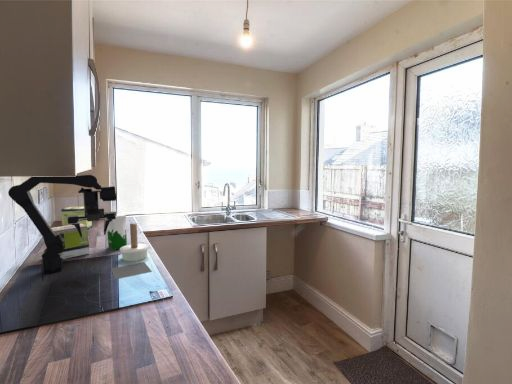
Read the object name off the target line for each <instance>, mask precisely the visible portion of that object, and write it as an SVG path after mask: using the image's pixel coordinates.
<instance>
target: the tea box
mask: <svg viewBox="0 0 512 384" xmlns="http://www.w3.org/2000/svg"><path fill="white" fill-rule="evenodd" d="M51 229H52V230H53V231H54V232H55V233H56V234H58V233H59V232H60V233H61V236H62V237H63V238H64V239H65V241H64V242H65V245H64V249H63V251H62V252H60V253H59V254H60V258H61V257H62V260H65V259H70V258H75V257H80V256H85V255H88V254H89V255H90V253H91V252H90V239H89V232H88V230H89V229H87V226H86V225H84V224H80V229H81V233H82V238H81V237H80V234H79V232H78V230H77V228H76V227H75V226H74V225H68V226H57V227H56V226H55V227H51Z"/></svg>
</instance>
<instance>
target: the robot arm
mask: <svg viewBox="0 0 512 384" xmlns="http://www.w3.org/2000/svg"><path fill="white" fill-rule="evenodd" d="M75 176H76V177H32V176H31V177H28V179H26V180H24V181H23V182H22V183H21V184H17V185H16V184H15V185H13V186H11V187H10V188H9V190H8V193H7V194H8V197H10V199H11V200H12V201H14V202H15V204H17V205H18V206H20V207H21V208H22V209H23V211H24V212H25V214H26V215H27V216H28V218H29V219H30V221H31V222H32V223H33V224H34V226H35V228H36V229H37V230H38V232H39V234H40V235H41V236H42V238H43V242H44V244H45V247H46V248H45V249H44V250H43V252H42V254H41V259H42V262H41V263H42V274H43V275H45V274H49V273H50V274H51V273H56V272H61V271H62V269H63V268H64V266H63V264H64V263H63V259H62V257H61V258H60V254H59V253H60V252H62V251H63V249H64V245H65V242H64V241H65V239H64V238H63V237H62V236H61V233H60V232H59V233H58V234H56V233H55V232H54V231H53V230H52V229H51V228H52V227H51V226H50V224H49V223H48V221H47V220H46V219H45V218H44V216H43V215H42V213H41V211H40V210H39V208H38V207H37V205H36V204H35V202H34V199H33V195H32V193H31V190H32V189H34V188H35V187H37V186H38V185H39V184H55V185H56V184H57V185H59V184H60V185H63V184H64V185H74V186H78V187H81V188H80V189H79V190H78V192H77V193H78V194H83V195H82V196H83V197H82V198H83V207H84V214H85V216H81V217H78V215H71V216H68V217H67V220H68V224H71V225H74V226H75V227H76V228H77V230H78V232H79V234H80V237H81V238H82V233H81V229H80V224H79V221H82V220H87V221H92V222H93V221H96V222H97V221H100V220H102V219H103V220H104V221H103V236H105V235H107V234H106V233H107V227H108V225H109V223H110V221H113V220H112V219H116V215H115V213H114V212H115V211H114V212H113V211H107V212H106V211H105V208H100V207H99V205H100V204H99V200H102V202H116V201H117V193H116V186H114V185H111V186H102V185H101V184H100V183H98V179H97V177H96V176H95V175H93V174H90V173H88V174H80V175H75ZM92 188H93V189H95V190H93V189H92Z"/></svg>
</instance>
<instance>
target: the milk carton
mask: <svg viewBox="0 0 512 384" xmlns="http://www.w3.org/2000/svg"><path fill="white" fill-rule="evenodd" d="M112 212H114V213H115V215H116V219H112V220H113V221H110V223H109V225H108V227H107V230H106V233H107V245H108V246H107V247H108V248H109V249H110V250H113V251H117V250H120V248H121V247H123V246H126V245H128V240H127V239H128V238H127V237H128V236H127V215H126V214H123V213H117V211H112Z"/></svg>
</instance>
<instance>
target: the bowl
mask: <svg viewBox="0 0 512 384" xmlns="http://www.w3.org/2000/svg"><path fill="white" fill-rule="evenodd" d="M147 256H148V249H147V250H145V251H142V252H137V253H122V252H121V259H122V260H123V261H125V262H135V261H136V262H137V261H141V260H144V259H146V258H147Z"/></svg>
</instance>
